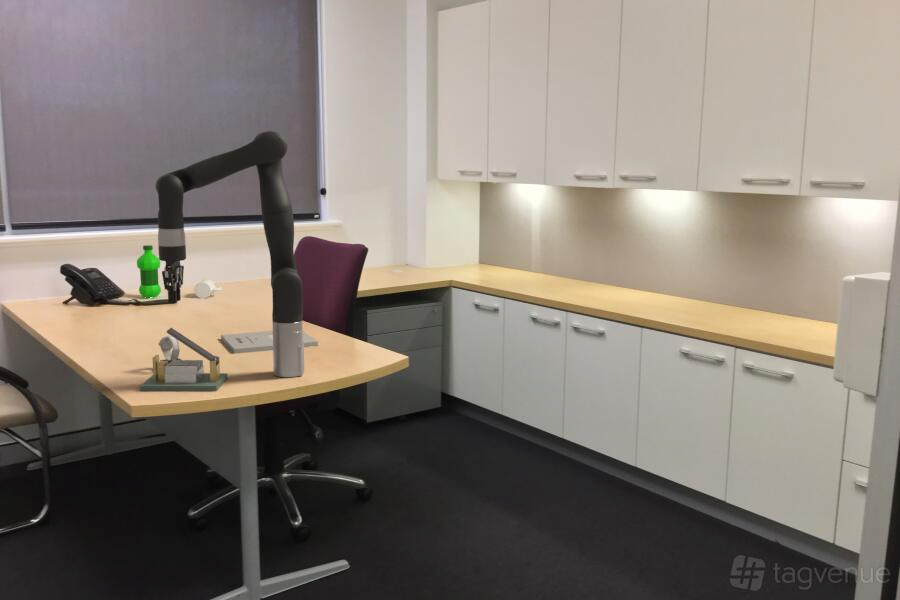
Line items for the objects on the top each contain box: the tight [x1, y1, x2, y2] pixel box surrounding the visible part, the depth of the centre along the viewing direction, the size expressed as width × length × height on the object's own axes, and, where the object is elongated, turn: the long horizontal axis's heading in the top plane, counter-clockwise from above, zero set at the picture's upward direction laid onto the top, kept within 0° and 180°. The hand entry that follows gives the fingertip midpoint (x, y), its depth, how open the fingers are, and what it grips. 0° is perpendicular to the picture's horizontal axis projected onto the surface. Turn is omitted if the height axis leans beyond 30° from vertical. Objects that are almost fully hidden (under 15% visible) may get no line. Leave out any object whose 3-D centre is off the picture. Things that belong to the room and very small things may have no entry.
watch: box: [158, 335, 182, 364], centre depth 258 cm, size 6×8×11 cm
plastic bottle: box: [136, 244, 162, 299], centre depth 385 cm, size 10×10×25 cm
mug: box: [193, 278, 223, 299], centre depth 392 cm, size 12×10×8 cm
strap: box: [166, 327, 220, 362], centre depth 240 cm, size 17×4×2 cm
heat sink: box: [165, 359, 205, 384], centre depth 241 cm, size 9×9×5 cm
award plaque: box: [220, 330, 319, 355], centre depth 298 cm, size 25×30×2 cm
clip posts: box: [151, 354, 221, 382], centre depth 241 cm, size 19×5×7 cm, turn 92°
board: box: [139, 372, 229, 392], centre depth 242 cm, size 22×14×2 cm, turn 92°
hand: (174, 301), depth 238 cm, fingers open, 3 cm apart
